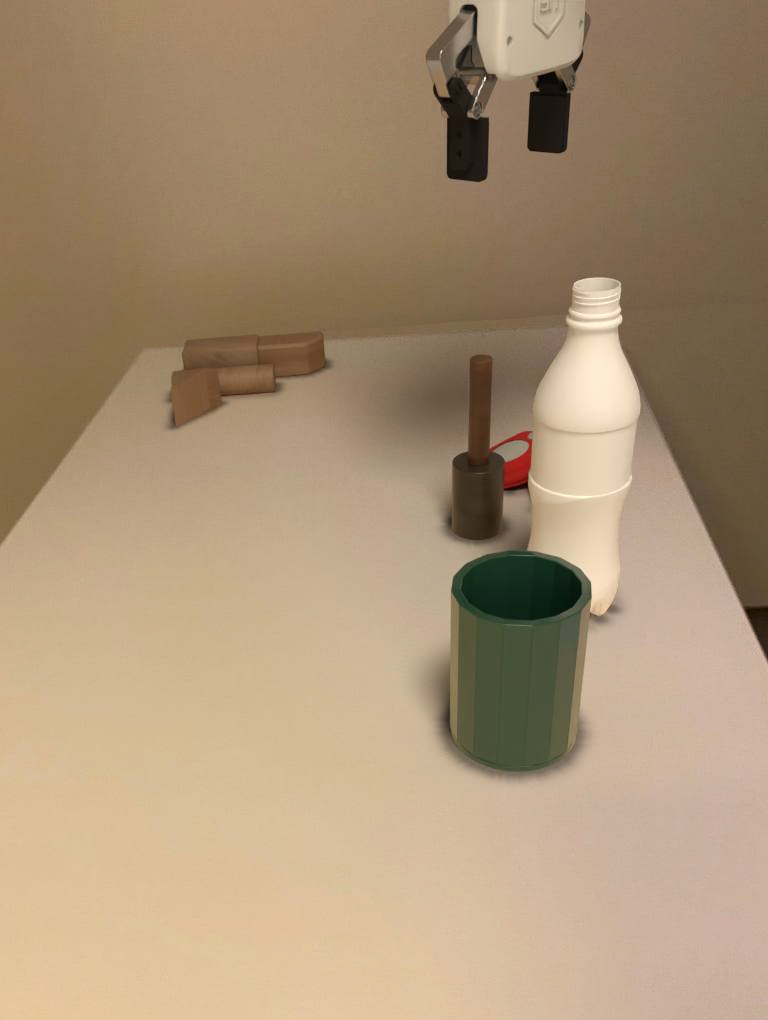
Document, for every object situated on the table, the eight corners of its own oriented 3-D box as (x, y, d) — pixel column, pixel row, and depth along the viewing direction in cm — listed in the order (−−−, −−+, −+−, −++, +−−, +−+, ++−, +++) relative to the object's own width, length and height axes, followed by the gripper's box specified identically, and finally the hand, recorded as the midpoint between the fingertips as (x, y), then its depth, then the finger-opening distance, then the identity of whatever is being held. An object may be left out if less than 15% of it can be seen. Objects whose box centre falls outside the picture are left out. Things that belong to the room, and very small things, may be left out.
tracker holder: (448, 471, 96) (510, 414, 99) (463, 508, 98) (523, 451, 102) (549, 482, 87) (614, 419, 90) (563, 523, 89) (625, 459, 92)
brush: (510, 527, 89) (518, 352, 79) (488, 550, 86) (494, 372, 77) (465, 516, 91) (468, 345, 82) (442, 538, 88) (443, 364, 79)
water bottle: (539, 574, 82) (560, 264, 68) (626, 593, 79) (669, 271, 64) (507, 620, 77) (523, 297, 63) (599, 642, 74) (638, 307, 59)
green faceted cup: (594, 719, 67) (612, 569, 60) (544, 794, 62) (558, 640, 55) (483, 683, 72) (488, 539, 65) (428, 750, 66) (427, 602, 59)
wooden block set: (176, 331, 123) (322, 320, 121) (183, 375, 126) (325, 365, 125) (158, 383, 109) (322, 370, 108) (166, 431, 112) (326, 419, 111)
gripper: (484, -127, 56) (476, 197, 66) (645, -141, 65) (617, 145, 75) (384, -114, 61) (391, 186, 71) (548, -130, 70) (533, 138, 80)
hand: (508, 165), depth 73 cm, fingers open, 9 cm apart
